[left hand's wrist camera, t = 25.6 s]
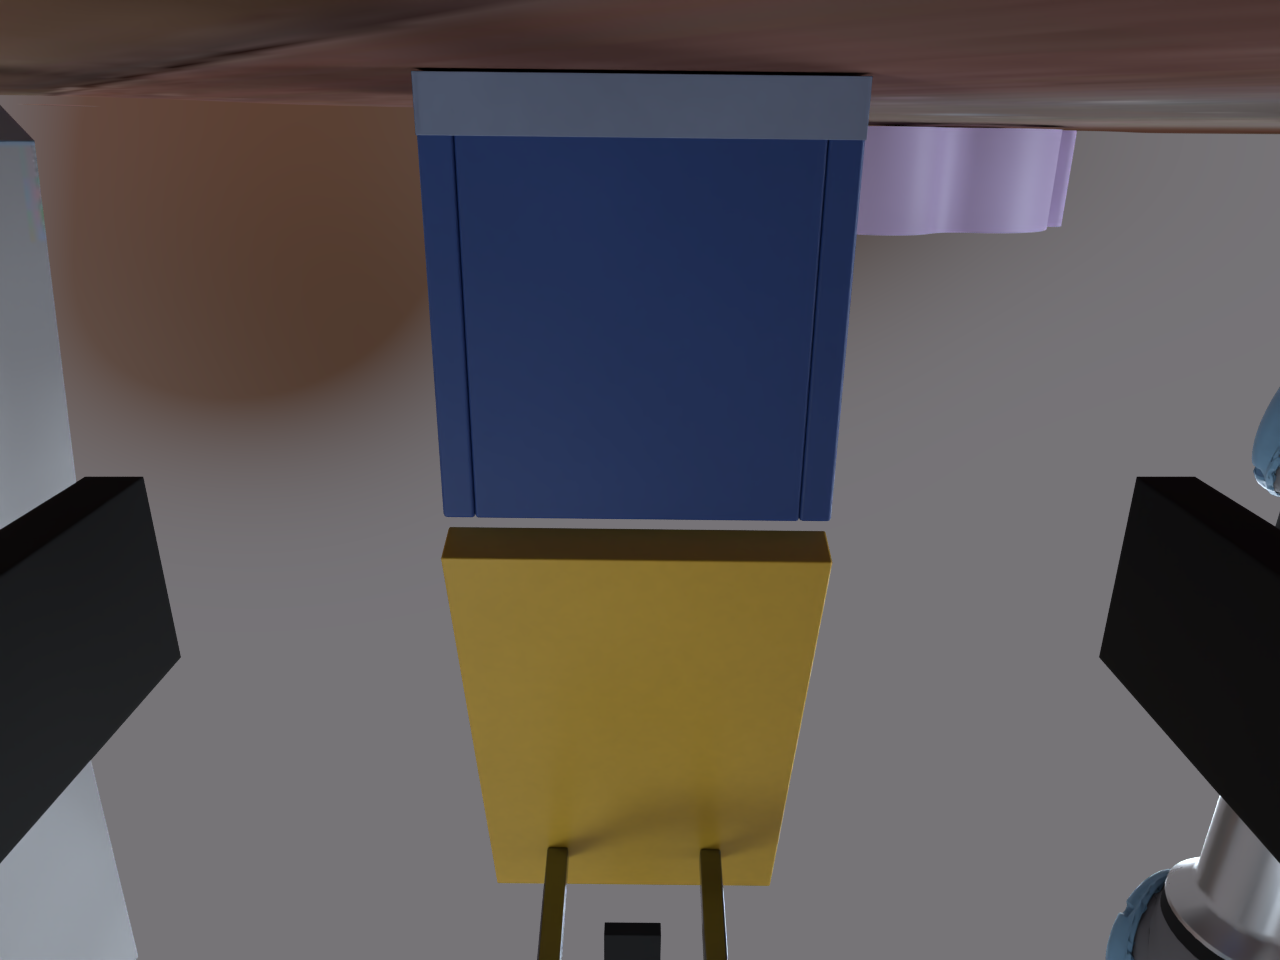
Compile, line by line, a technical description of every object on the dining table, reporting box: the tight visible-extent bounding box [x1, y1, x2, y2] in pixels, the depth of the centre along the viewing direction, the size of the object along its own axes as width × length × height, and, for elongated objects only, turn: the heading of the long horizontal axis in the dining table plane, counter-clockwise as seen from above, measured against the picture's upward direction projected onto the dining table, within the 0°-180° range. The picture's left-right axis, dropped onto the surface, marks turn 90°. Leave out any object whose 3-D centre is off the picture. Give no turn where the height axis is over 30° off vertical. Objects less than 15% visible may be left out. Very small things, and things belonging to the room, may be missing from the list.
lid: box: [441, 527, 832, 960], centre depth 25 cm, size 16×10×8 cm
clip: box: [857, 126, 1077, 235], centre depth 68 cm, size 20×12×7 cm, turn 59°
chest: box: [411, 71, 872, 521], centre depth 28 cm, size 15×10×10 cm, turn 0°
